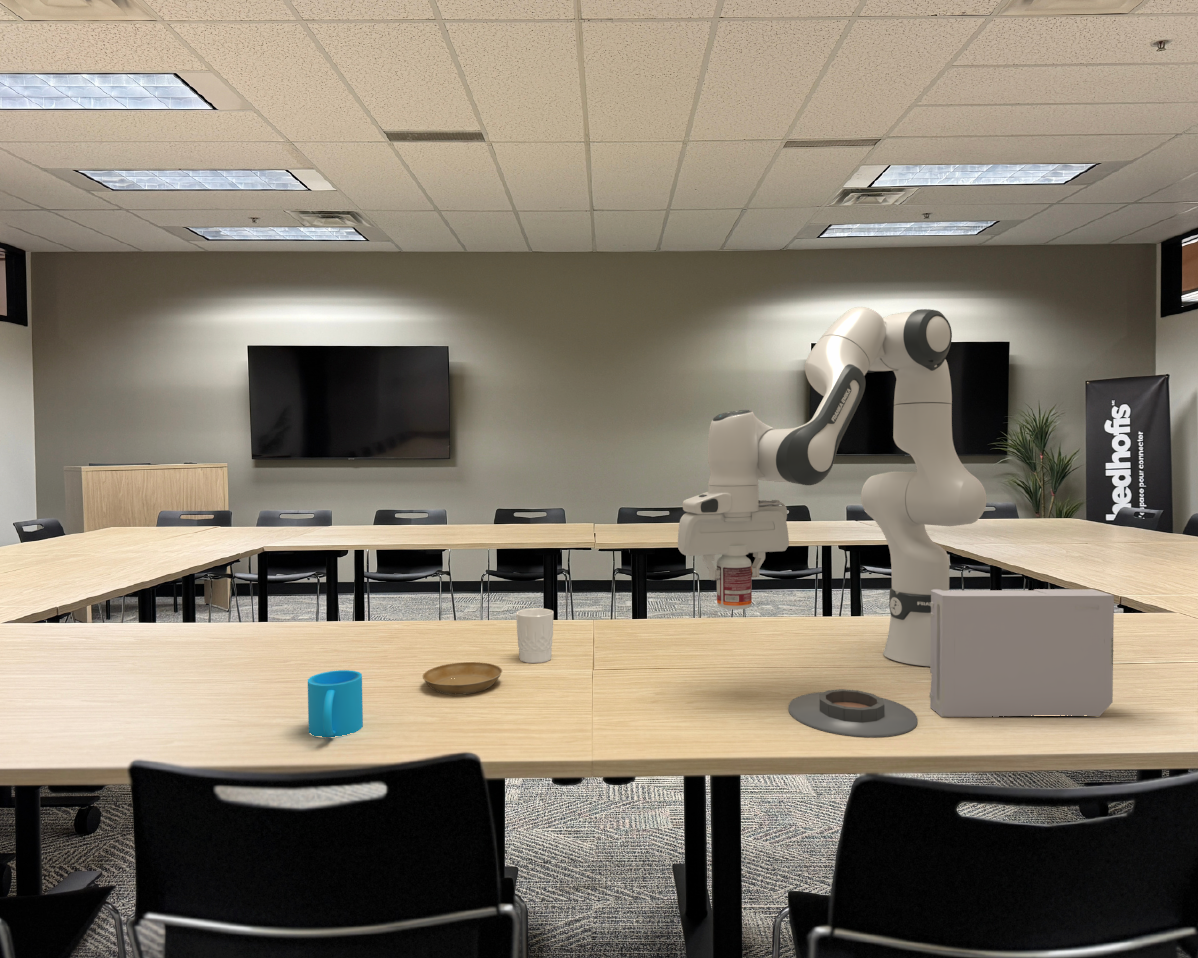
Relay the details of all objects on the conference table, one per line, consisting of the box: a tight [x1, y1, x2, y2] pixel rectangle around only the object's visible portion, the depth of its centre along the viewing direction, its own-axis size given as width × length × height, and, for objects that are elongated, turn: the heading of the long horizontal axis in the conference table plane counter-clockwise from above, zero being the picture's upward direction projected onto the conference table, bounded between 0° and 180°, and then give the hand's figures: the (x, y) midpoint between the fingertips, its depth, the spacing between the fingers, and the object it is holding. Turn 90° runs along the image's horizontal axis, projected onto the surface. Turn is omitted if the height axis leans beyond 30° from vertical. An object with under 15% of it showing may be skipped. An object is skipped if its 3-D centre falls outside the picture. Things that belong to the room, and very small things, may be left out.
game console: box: [929, 588, 1115, 718], centre depth 121 cm, size 6×27×20 cm, turn 88°
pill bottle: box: [716, 545, 753, 610], centre depth 132 cm, size 6×6×11 cm
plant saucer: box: [422, 661, 503, 695], centre depth 138 cm, size 15×15×3 cm
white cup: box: [515, 607, 554, 664], centre depth 156 cm, size 8×8×10 cm
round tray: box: [788, 688, 918, 738], centre depth 121 cm, size 20×20×2 cm
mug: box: [307, 669, 364, 737], centre depth 115 cm, size 12×8×8 cm
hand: (734, 578), depth 132 cm, fingers closed on pill bottle, 6 cm apart
